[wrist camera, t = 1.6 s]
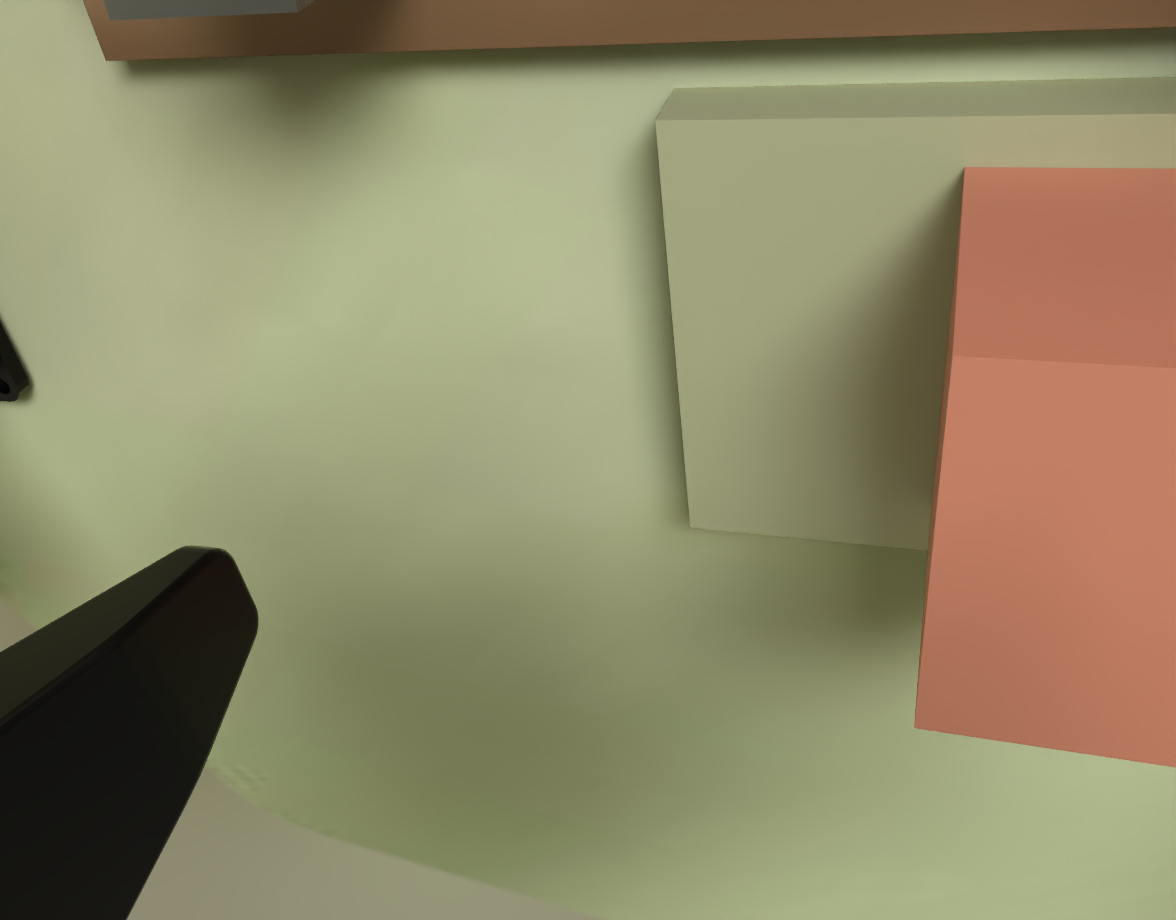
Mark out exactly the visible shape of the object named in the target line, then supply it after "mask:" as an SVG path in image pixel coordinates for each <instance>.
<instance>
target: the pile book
mask: <svg viewBox="0 0 1176 920" xmlns="http://www.w3.org/2000/svg"><path fill="white" fill-rule="evenodd" d="M655 124H656V136H657V148H658V159H659V171H660V182H661V194H662V206H663V217H664V229H665V241H666V252H667V264H668V275H669V287H670V299H671V310H672V322H673V334H674V345H675V357H676V368H677V380H678V392H679V403H680V415H681V427H682V438H683V450H684V461H685V473H686V485H687V496H688V508H689V520H690V528H695V529H706V530H716V531H726V532H737V533H747V534H757V535H768V536H778V537H788V538H799V539H809V540H819V541H829V542H840V543H850V544H860V545H871V546H881V547H891V548H902V549H912V550H922V551H928V541H929V528H930V515H931V503H932V493H933V483H934V473H935V463H936V452H937V442H938V432H939V422H940V412H941V402H942V392H943V382H944V372H945V362H946V351H947V341H948V331H949V321H950V311H951V301H952V291H953V281H954V271H955V261H956V251H957V240H958V230H959V220H960V210H961V200H962V190H963V180H964V170H965V167H1032V168H1156V169H1176V77H1151V78H1107V79H1063V80H1019V81H975V82H931V83H887V84H843V85H798V86H754V87H710V88H675V89H674V90H673V92H672V94H671V95H670V97H669V99H668V100H667V102H666V104H665V105H664V107H663V109H662V110H661V112H660V113H659V115H658V117H657V118H656V120H655Z"/></svg>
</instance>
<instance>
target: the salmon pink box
mask: <svg viewBox="0 0 1176 920" xmlns="http://www.w3.org/2000/svg"><path fill="white" fill-rule="evenodd" d="M914 728H918V729H924V730H931V731H938V732H944V733H951V734H957V735H964V736H971V737H977V738H984V739H991V740H997V741H1004V742H1011V743H1017V744H1024V745H1031V746H1037V747H1044V748H1050V749H1057V750H1064V751H1070V752H1077V753H1084V754H1090V755H1097V756H1104V757H1110V758H1117V759H1124V760H1130V761H1137V762H1144V763H1150V764H1157V765H1163V766H1170V767H1176V169H1156V168H1032V167H965V170H964V180H963V190H962V200H961V210H960V220H959V230H958V240H957V251H956V261H955V271H954V281H953V291H952V301H951V311H950V321H949V331H948V341H947V351H946V362H945V372H944V382H943V392H942V402H941V412H940V422H939V432H938V442H937V452H936V463H935V473H934V483H933V493H932V503H931V515H930V528H929V541H928V554H927V567H926V580H925V593H924V606H923V619H922V632H921V645H920V658H919V671H918V684H917V697H916V710H915V724H914Z"/></svg>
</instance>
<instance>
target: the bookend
mask: <svg viewBox="0 0 1176 920" xmlns="http://www.w3.org/2000/svg"><path fill="white" fill-rule="evenodd" d="M103 1H104V4H105V7H106V9H107V12H108V15H109V17H110V20H111V21H112V20H135V19H158V18H180V17H203V16H225V15H248V14H270V13H293V12H299V11H301V10H302V9H304V8H305V7H307V6H309V5H310V4H312V3H313V2H315V1H316V0H103Z"/></svg>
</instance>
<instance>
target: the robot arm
mask: <svg viewBox="0 0 1176 920" xmlns="http://www.w3.org/2000/svg"><path fill="white" fill-rule="evenodd" d="M28 387H29V383H28V380H27V377H26V376H25V374H24V372H23V370H22V368H21V366H20V364H19V362H18V360H17V358H16V356H15V354H14V352H13V350H12V348H11V346H10V344H9V342H8V340H7V339H6V337H5V335H4V333H3V331H2V329H1V327H0V401H8V402H11V401H15V400H17V399H18V398H19V397H20V396H21V395H22V394H24V393H25V392H26V391H27V390H28ZM257 630H258V611H257V608H256V605H255V603H254V601H253V599H252V597H251V595H250V593H249V590H248V588H247V586H246V584H245V582H244V580H243V578H242V575H241V573H240V571H239V569H238V567H237V565H236V562H235V560H234V559H233V557H232V556H231V555H230V554H229V553H228V552H227V551H226V550H223V549H220V548H211V547H202V546H184V547H181V548H179V549H177V550H175V551H173V552H172V553H170V554H168V555H167V556H165V557H163V558H161V559H160V560H158V561H156V562H155V563H153V564H151V565H149V566H148V567H146V568H144V569H143V570H141V571H139V572H137V573H136V574H134V575H132V576H130V577H129V578H127V579H125V580H124V581H122V582H120V583H118V584H117V585H115V586H113V587H112V588H110V589H108V590H106V591H105V592H103V593H101V594H100V595H98V596H96V597H94V598H93V599H91V600H89V601H88V602H86V603H84V604H82V605H81V606H79V607H77V608H75V609H74V610H72V611H70V612H69V613H67V614H65V615H63V616H62V617H60V618H58V619H57V620H55V621H53V622H51V623H50V624H48V625H46V626H45V627H43V628H41V629H39V630H38V631H36V632H34V633H33V634H31V635H29V636H28V637H26V638H24V639H22V640H20V641H19V642H17V643H15V644H14V645H12V646H10V647H8V648H7V649H5V650H3V651H2V652H0V920H127V918H128V916H129V914H130V912H131V910H132V908H133V907H134V905H135V903H136V901H137V899H138V897H139V895H140V893H141V891H142V889H143V887H144V885H145V883H146V881H147V879H148V877H149V876H150V874H151V872H152V870H153V868H154V866H155V864H156V862H157V860H158V858H159V856H160V854H161V852H162V850H163V848H164V847H165V845H166V843H167V841H168V839H169V837H170V835H171V833H172V831H173V829H174V827H175V825H176V823H177V821H178V819H179V817H180V816H181V814H182V812H183V810H184V808H185V806H186V804H187V802H188V800H189V798H190V796H191V794H192V791H193V789H194V787H195V785H196V783H197V781H198V779H199V777H200V775H201V772H202V770H203V768H204V765H205V763H206V761H207V758H208V756H209V754H210V751H211V749H212V746H213V744H214V741H215V739H216V736H217V734H218V731H219V729H220V726H221V724H222V721H223V718H224V716H225V713H226V711H227V708H228V706H229V703H230V701H231V698H232V696H233V693H234V691H235V688H236V686H237V683H238V681H239V678H240V676H241V673H242V671H243V668H244V666H245V663H246V660H247V658H248V655H249V653H250V650H251V648H252V645H253V643H254V640H255V638H256V634H257Z"/></svg>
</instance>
